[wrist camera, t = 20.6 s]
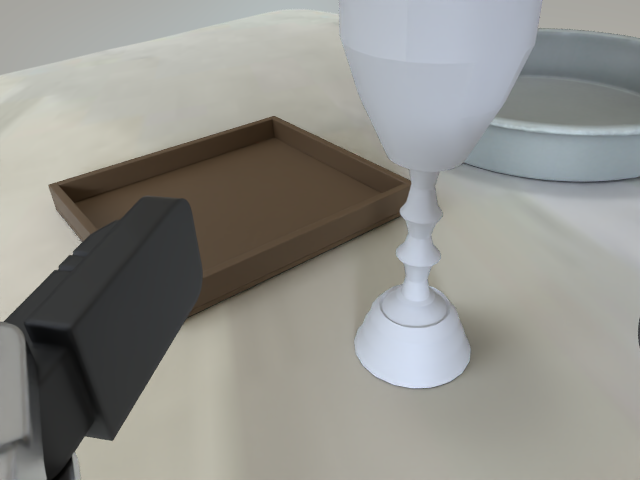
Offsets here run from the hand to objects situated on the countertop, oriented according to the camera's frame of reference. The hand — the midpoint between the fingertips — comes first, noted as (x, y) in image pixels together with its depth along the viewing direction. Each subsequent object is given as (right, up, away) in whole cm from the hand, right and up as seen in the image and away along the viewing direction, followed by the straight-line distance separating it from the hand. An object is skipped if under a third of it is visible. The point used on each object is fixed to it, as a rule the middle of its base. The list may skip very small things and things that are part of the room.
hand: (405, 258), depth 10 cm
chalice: (+3, -4, +15) cm, 16 cm away
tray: (-7, +2, +26) cm, 27 cm away
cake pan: (+16, +10, +36) cm, 40 cm away
